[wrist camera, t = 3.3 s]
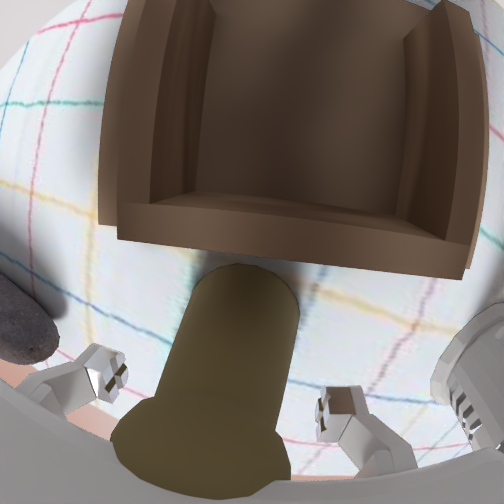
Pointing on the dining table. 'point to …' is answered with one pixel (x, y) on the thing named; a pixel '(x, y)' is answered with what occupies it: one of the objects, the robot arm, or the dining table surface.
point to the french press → (475, 378)
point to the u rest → (299, 132)
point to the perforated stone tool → (24, 327)
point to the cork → (218, 392)
